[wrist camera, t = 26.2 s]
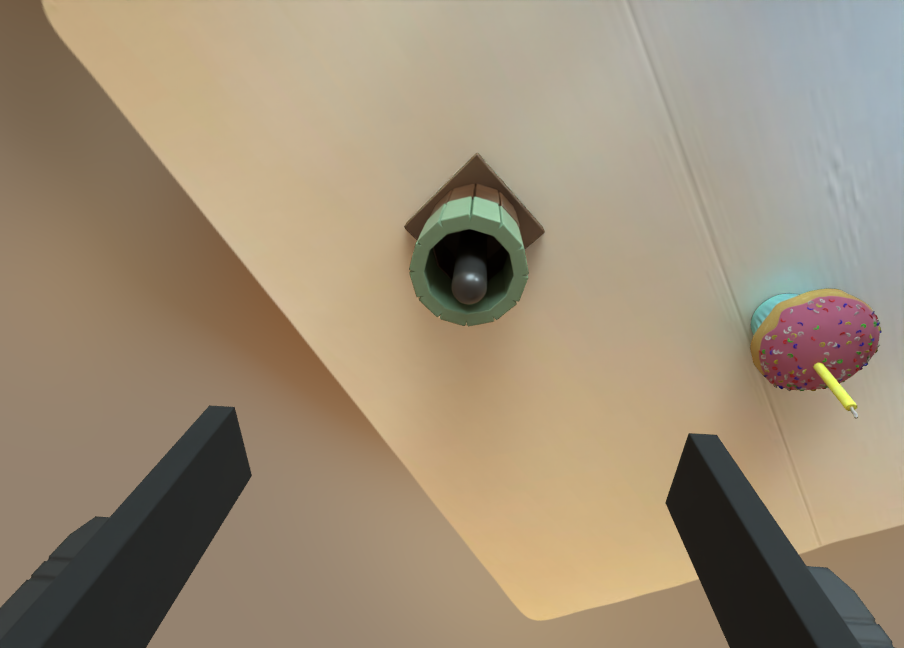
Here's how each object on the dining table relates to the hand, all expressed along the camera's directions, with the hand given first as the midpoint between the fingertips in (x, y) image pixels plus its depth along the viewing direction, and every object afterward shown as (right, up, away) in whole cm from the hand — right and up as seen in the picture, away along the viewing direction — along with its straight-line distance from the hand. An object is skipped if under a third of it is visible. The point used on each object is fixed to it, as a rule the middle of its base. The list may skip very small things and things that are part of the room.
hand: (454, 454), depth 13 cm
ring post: (+2, +12, +24) cm, 27 cm away
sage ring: (+1, +9, +18) cm, 20 cm away
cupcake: (+28, +5, +26) cm, 39 cm away
